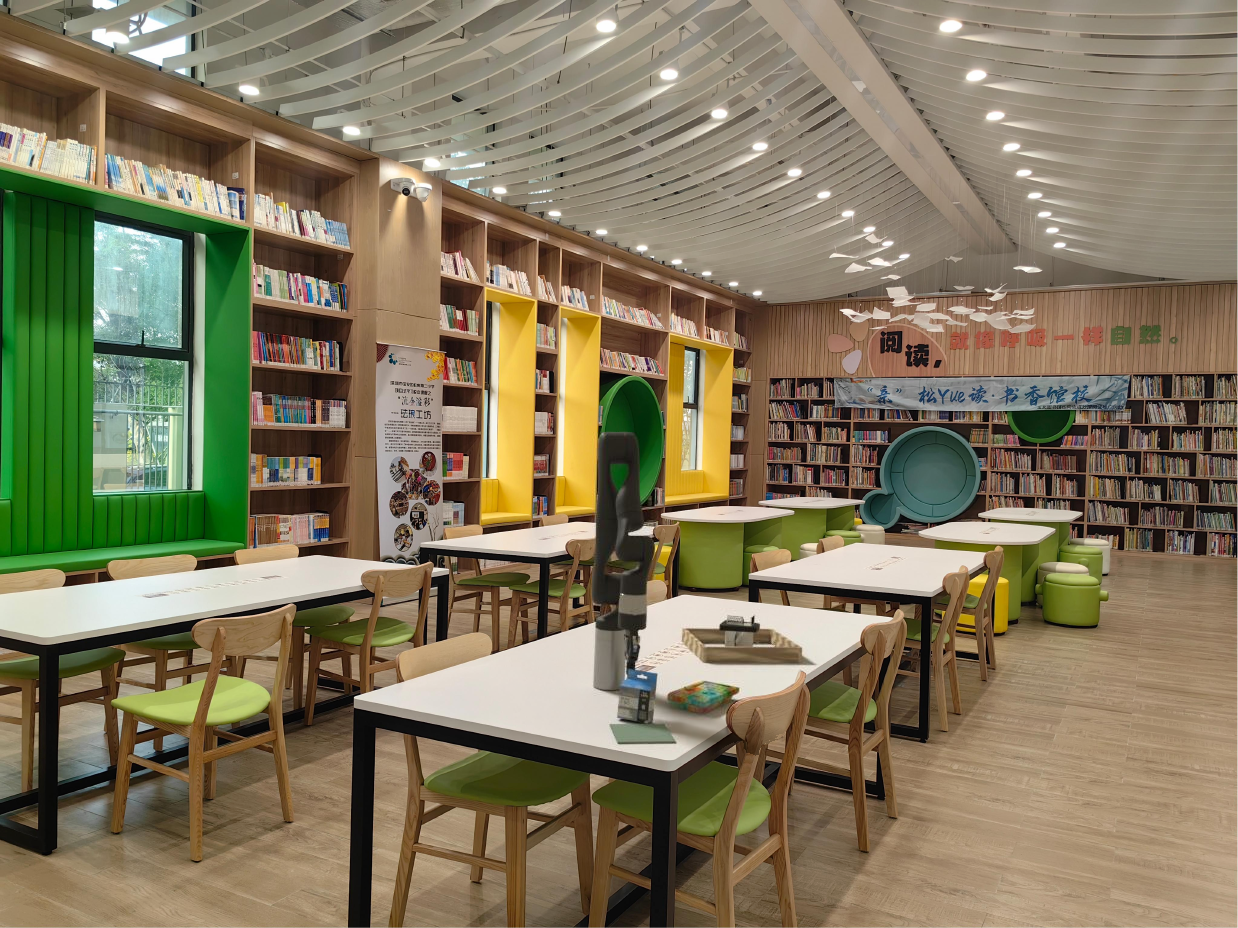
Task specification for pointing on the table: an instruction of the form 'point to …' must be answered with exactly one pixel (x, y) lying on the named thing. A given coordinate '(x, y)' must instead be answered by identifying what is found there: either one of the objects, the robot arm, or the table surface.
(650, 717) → the label tape cartridge
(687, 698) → the puzzle game
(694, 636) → the holder frame
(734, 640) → the black-topped pedestal
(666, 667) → the table surface
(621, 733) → the mat
